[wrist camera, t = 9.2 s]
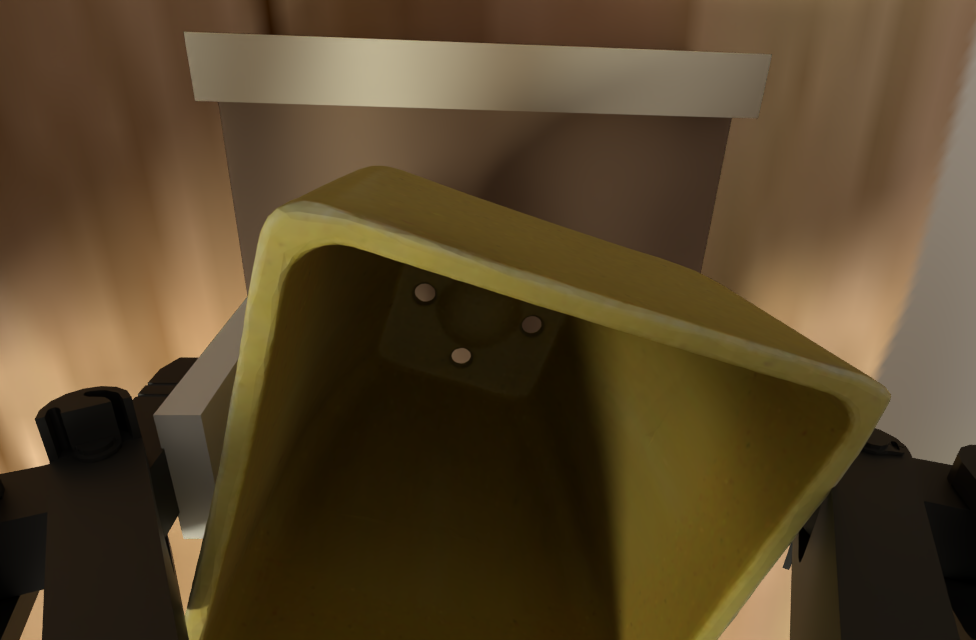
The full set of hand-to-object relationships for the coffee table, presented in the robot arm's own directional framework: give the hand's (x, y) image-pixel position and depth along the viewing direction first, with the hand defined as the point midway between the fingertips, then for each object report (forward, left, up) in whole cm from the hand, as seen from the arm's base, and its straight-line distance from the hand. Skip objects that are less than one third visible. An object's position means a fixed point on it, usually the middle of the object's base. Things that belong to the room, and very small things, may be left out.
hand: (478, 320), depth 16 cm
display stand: (0, 0, -6) cm, 6 cm away
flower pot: (0, 0, -1) cm, 1 cm away
